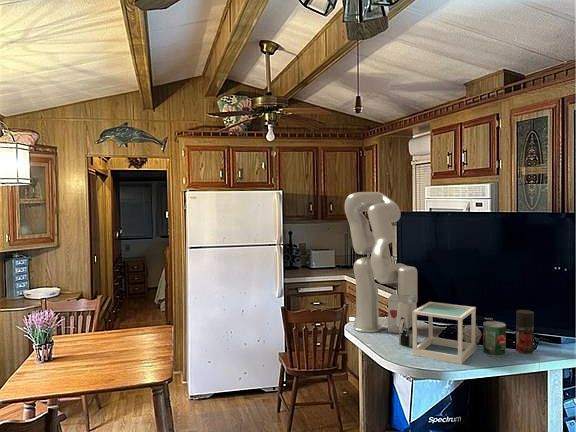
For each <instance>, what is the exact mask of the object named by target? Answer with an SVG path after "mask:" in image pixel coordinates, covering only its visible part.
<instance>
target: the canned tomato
mask: <svg viewBox="0 0 576 432" xmlns="http://www.w3.org/2000/svg"><path fill="white" fill-rule="evenodd" d="M482 326H483V327H482V333H483V335H482V353H483V354H484V355H486V356H491V357H504V356H506V354H507V349H506V343H507V342H506V341H507V338H506V337H507V336H506V335H507V333H506V332H507V324H506V323H505V322H501V321H495V320H487V321H484V322H483V324H482Z"/></svg>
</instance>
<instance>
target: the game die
mask: <svg viewBox="0 0 576 432" xmlns="http://www.w3.org/2000/svg"><path fill="white" fill-rule="evenodd" d="M482 337H483V332H481V330H480V329H479V327H478V323H476V344H477V345H478V346H480V343H479V342H480V340H481V338H482ZM462 340H464V341H463V342H467V343H471V324H465V323H463V327H462Z"/></svg>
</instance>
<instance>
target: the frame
mask: <svg viewBox="0 0 576 432" xmlns="http://www.w3.org/2000/svg"><path fill="white" fill-rule="evenodd" d="M431 304H434V305H441V306H447V307H454V308H460V309H467V311H466V312H465V313H463V314H462V315H461V316H459V317H458V316H451V315H443V314H436V313H428V312H421V310H423V309H424V308H426V307H428V306H430V305H431ZM476 310H477V307H476V306H469V305H459V304H451V303H445V302H435V301H429V302H426V303H425V304H423V305H421V306H419V307H417V309H416V310H414V311H413V346H412V356H414V355H416V356H415V357H420V356H421V358H425V357H426V359H430V358H431V360H437V361H443V362H447V363H453V364H458V365H463V363H464V362H465V361H466V360H467V359H468V358H469V357H471V355H473V354H474V352H475V351H476V324H477V323H476V321H477V318H476V315H477V314H476V313H477V312H476ZM470 315H471V320H470V321H471V322H470V323H471V324H470V325H471V343H467V342H465V341H463V337H462V331H463V324H464V323H463V320H464V319H466V318H467V317H468V316H470ZM418 316H423V317H424V316H426V317H428V337H427V338H425V339H424V340H422V341H421V342H420V343H418ZM433 318H439V319H447V320H455V321H457V340H454V339H447V338H441V337H435V336H433V335H434V334H433V331H434V329H433V325H434V324H433V323H434V322H433ZM431 345H436V346H441V347H446V348H447V347H449V348H452V349H453V348H454V349H457V354H451V353H445V352H442V351H441V352H439V351H434V350H430V349H426V348H428V347H429V346H431Z"/></svg>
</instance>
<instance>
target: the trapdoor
mask: <svg viewBox="0 0 576 432" xmlns="http://www.w3.org/2000/svg"><path fill="white" fill-rule="evenodd" d="M466 311H467V309H460V308H454V307H447V306H441V305H434V304H431V305H430V306H428V307H426V308H424V309H423V310H421V312H428V313H436V314H443V315H451V316H458V317H459V316H461V315H462V314H463V313H465V312H466Z"/></svg>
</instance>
